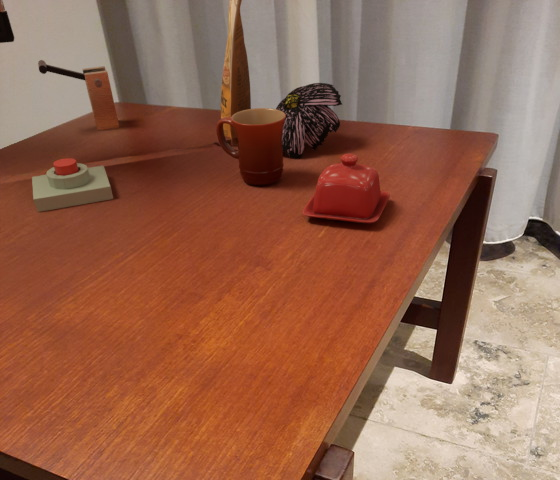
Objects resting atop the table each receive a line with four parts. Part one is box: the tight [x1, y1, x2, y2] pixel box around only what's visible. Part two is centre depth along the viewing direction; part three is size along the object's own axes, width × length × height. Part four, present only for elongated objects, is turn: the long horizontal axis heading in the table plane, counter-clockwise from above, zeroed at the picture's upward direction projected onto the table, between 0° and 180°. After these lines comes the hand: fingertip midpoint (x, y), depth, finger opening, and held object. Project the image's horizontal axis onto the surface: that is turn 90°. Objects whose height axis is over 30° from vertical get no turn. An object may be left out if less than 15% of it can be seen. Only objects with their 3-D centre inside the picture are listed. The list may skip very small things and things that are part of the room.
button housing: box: [31, 162, 114, 213], centre depth 92 cm, size 12×10×4 cm
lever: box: [37, 59, 93, 82], centre depth 108 cm, size 12×5×2 cm, turn 110°
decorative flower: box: [275, 82, 343, 160], centre depth 103 cm, size 14×12×15 cm
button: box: [53, 157, 79, 176], centre depth 90 cm, size 4×4×2 cm
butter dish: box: [302, 153, 391, 224], centre depth 81 cm, size 12×12×8 cm
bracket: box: [81, 65, 120, 132], centre depth 113 cm, size 12×10×12 cm
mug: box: [215, 107, 286, 187], centre depth 92 cm, size 12×9×10 cm
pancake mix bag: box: [220, 0, 252, 147], centre depth 104 cm, size 7×19×28 cm, turn 179°
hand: (4, 41), depth 89 cm, fingers closed
